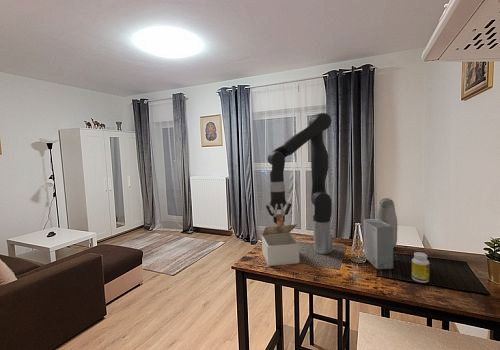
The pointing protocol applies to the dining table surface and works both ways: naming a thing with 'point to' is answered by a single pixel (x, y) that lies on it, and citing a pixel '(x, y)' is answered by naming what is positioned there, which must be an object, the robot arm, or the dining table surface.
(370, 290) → the dining table surface
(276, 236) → the carton
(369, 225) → the hard drive box
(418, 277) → the pill bottle
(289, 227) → the flap
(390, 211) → the grey bottle
